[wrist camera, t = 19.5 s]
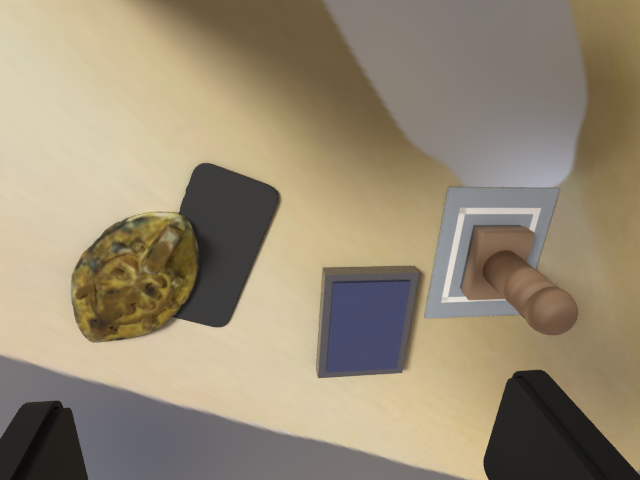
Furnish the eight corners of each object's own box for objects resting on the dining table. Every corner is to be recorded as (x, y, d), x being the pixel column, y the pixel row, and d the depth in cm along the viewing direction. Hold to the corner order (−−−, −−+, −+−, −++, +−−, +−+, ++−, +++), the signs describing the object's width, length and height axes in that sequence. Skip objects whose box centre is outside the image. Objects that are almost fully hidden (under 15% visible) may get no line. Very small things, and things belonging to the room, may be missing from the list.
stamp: (472, 224, 40) (548, 284, 30) (521, 223, 41) (610, 282, 31) (458, 288, 43) (523, 363, 33) (504, 287, 44) (581, 360, 34)
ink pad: (322, 267, 40) (325, 276, 39) (414, 265, 42) (419, 273, 40) (316, 368, 45) (318, 379, 44) (397, 364, 46) (402, 374, 45)
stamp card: (448, 186, 39) (449, 188, 38) (557, 187, 40) (560, 189, 40) (424, 316, 44) (425, 318, 44) (520, 312, 46) (522, 314, 46)
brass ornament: (145, 348, 42) (228, 233, 39) (139, 384, 38) (231, 260, 35) (45, 312, 38) (127, 180, 34) (27, 349, 34) (117, 203, 30)
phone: (146, 310, 39) (195, 159, 34) (148, 305, 40) (196, 157, 35) (225, 330, 41) (282, 191, 36) (226, 325, 42) (282, 188, 37)
